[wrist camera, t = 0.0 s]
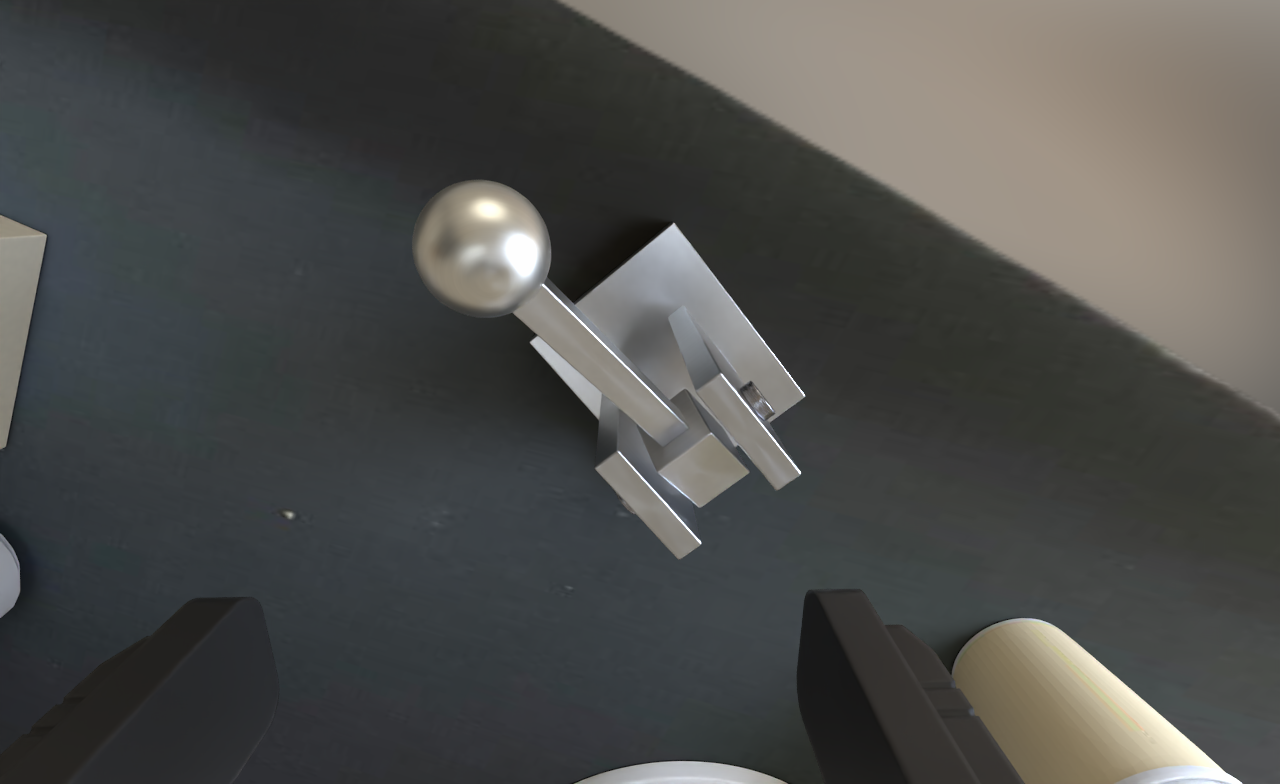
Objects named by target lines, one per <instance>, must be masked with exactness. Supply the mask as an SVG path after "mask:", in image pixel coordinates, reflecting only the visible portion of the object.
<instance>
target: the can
mask: <svg viewBox="0 0 1280 784" xmlns="http://www.w3.org/2000/svg"><path fill="white" fill-rule="evenodd" d="M19 593H20V563H19V561H18V558H17V556H16V553H15V551H14V549H13V547H12V546H11V545H10V544H9V542H8V541H7V540H6V539H5V537H4V536H3V535H2V534H0V618H1V617H2V616H3V615H4V614H6V613H7V612H8V611H9V610H10V609H11V608H13V607H14V605H15V602H16V600H17V598H18V596H19Z"/></svg>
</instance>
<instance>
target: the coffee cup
mask: <svg viewBox="0 0 1280 784" xmlns="http://www.w3.org/2000/svg"><path fill="white" fill-rule="evenodd" d="M951 676H952V678H953V679H954V680H955V685H956V688H960V689H961V691H962V692H963V694H964V695H965V697H966V698H967V699H968V701H969V702H970V704H971V705H972V707H973V708H974V714H975V716H979V717H980V718H981V720H982V721H983V723H984V724H985V726H986V727H987V729H988V730H989V732H990V733H991V734H992V736H993V737H994V739H995V740H996V742H997V743H998V745H999V746H1000V748H1001V749H1002V751H1003V752H1004V753H1005V755H1006V756H1007V758H1008V759H1009V761H1010V762H1011V764H1012V765H1013V767H1014V768H1015V769H1016V771H1017V772H1018V774H1019V775H1020V777H1021V778H1022V780H1023V781H1024V783H1025V784H1242V783H1241V782H1240V781H1239V780H1237V779H1236V778H1234V777H1232V776H1231V775H1229V774H1227V773H1226V772H1224V771H1223V770H1222V769H1221V768H1220V767H1219V766H1218V765H1217V764H1216V763H1214V762H1213V761H1212V760H1211V759H1210V758H1209V757H1208V756H1207V755H1206V754H1205V753H1203V752H1202V751H1201V750H1200V749H1199V748H1198V747H1197V746H1195V745H1194V744H1193V743H1192V742H1191V741H1190V740H1189V739H1187V738H1186V737H1185V736H1184V735H1183V734H1182V733H1180V732H1179V731H1178V730H1177V729H1176V728H1175V727H1174V726H1172V725H1171V724H1170V723H1169V722H1168V721H1167V720H1166V719H1164V718H1163V717H1162V716H1161V715H1160V714H1159V713H1157V712H1156V711H1155V710H1154V709H1153V708H1152V707H1151V706H1149V705H1148V704H1147V703H1146V702H1145V701H1144V700H1142V699H1141V698H1140V697H1139V696H1138V695H1137V694H1136V693H1134V692H1133V691H1132V690H1131V689H1130V688H1129V687H1127V686H1126V685H1125V684H1124V683H1123V682H1122V681H1120V680H1119V679H1118V678H1117V677H1116V676H1115V675H1113V674H1112V673H1111V672H1110V671H1109V670H1108V669H1106V668H1105V667H1104V666H1103V665H1102V664H1101V663H1099V662H1098V661H1097V660H1096V659H1095V658H1094V657H1092V656H1091V655H1090V654H1089V653H1088V652H1087V651H1085V650H1084V649H1083V648H1082V647H1081V646H1080V645H1078V644H1077V643H1076V642H1075V641H1073V640H1072V639H1071V638H1070V637H1069V636H1067V635H1066V634H1065V633H1064V632H1062V631H1061V630H1060V629H1058V628H1057V627H1055V626H1053V625H1052V624H1050V623H1047V622H1044V621H1041V620H1038V619H1031V618H1018V619H1010V620H1006V621H1002V622H999V623H996V624H994V625H991V626H989V627H987V628H985V629H984V630H982V631H980V632H979V633H978V634H976V635H975V636H974V637H973V638H971V639H970V640H969V641H968V642H967V643H966V644H965V645H964V647H963V648H962V649H961V651H960V652H959V654H958V656H957V658H956V659H955V662H954V665H953V668H952V675H951Z"/></svg>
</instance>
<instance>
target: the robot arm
mask: <svg viewBox="0 0 1280 784" xmlns="http://www.w3.org/2000/svg"><path fill="white" fill-rule="evenodd" d="M797 693H798V701H799V707H800V711H801V715H802V719H803V722H804V725H805V728H806V731H807V734H808V737H809V740H810V742H811V745H812V748H813V751H814V754H815V757H816V760H817V763H818V766H819V768H820V771H821V774H822V777H823V780H824V783H825V784H1025V783H1024V781H1023V780H1022V778H1021V777H1020V775H1019V774H1018V772H1017V771H1016V769H1015V768H1014V767H1013V765H1012V764H1011V762H1010V761H1009V759H1008V758H1007V756H1006V755H1005V753H1004V752H1003V751H1002V749H1001V748H1000V746H999V745H998V743H997V742H996V740H995V739H994V737H993V736H992V734H991V733H990V732H989V730H988V729H987V727H986V726H985V724H984V723H983V721H982V720H981V718H980V717H979V716H975V714H974V708H973V707H972V705H971V704H970V702H969V701H968V699H967V698H966V697H965V695H964V694H963V692H962V691H961V689H960V688H956V685H955V680H954V679H953V678H952V676H951V675H950V673H949V672H948V670H947V669H946V667H945V666H944V664H943V663H942V662H941V660H940V659H939V657H938V656H937V654H936V653H935V651H934V650H933V649H931V648H930V647H929V646H928V645H926V644H925V643H924V642H923V641H921V640H920V639H919V638H918V637H916V636H915V635H914V634H913V633H911V632H910V631H909V630H908V629H906V628H905V627H904V626H903V625H884V624H883V622H882V620H881V619H880V617H879V616H878V614H877V612H876V611H875V609H874V607H873V606H872V604H871V602H870V601H869V599H868V598H867V596H866V595H865V593H864V592H863V591H862V590H860V589H826V590H809V591H808V592H807V593H806V596H805V600H804V609H803V618H802V628H801V637H800V647H799V657H798V666H797ZM278 699H279V679H278V675H277V670H276V666H275V661H274V657H273V653H272V648H271V644H270V639H269V635H268V631H267V626H266V622H265V618H264V613H263V609H262V607H261V605H260V603H259V602H258V600H256V599H255V598H252V597H222V598H195V599H192V600H190V601H189V602H187V603H186V604H185V605H183V606H182V607H181V608H180V609H179V610H178V611H177V612H176V613H175V614H174V615H173V616H172V617H171V618H169V619H168V620H167V621H166V622H165V623H164V624H163V625H162V626H161V627H160V628H159V629H158V630H157V631H156V632H155V633H154V634H152V635H151V636H146V637H145V638H143V639H141V640H140V641H138V642H136V643H135V644H133V645H132V646H130V647H128V648H127V649H125V650H123V651H122V652H120V653H118V654H117V655H115V656H113V657H112V658H110V659H109V660H107V661H105V662H104V663H102V664H100V665H99V666H98V667H97V668H96V669H95V670H94V671H93V672H92V673H90V674H89V675H88V676H87V677H86V678H85V679H84V680H83V681H82V682H81V683H79V684H78V685H77V686H76V687H75V688H74V689H73V690H72V691H71V692H69V693H68V694H67V695H66V696H65V697H64V701H63V703H62V704H61V705H55V706H54V707H53V708H52V709H51V710H50V711H48V712H47V713H46V714H45V715H44V716H43V717H42V718H41V719H40V720H39V721H37V722H36V723H35V724H34V725H33V726H32V730H31V732H30V733H29V734H23V735H22V736H21V737H20V738H19V739H18V740H16V741H15V742H14V743H13V744H12V745H11V746H10V747H9V748H8V749H6V750H5V751H4V752H3V753H2V754H1V755H0V784H233V782H234V780H235V779H236V777H237V776H238V774H239V773H240V771H241V770H242V768H243V767H244V765H245V764H246V762H247V761H248V759H249V758H250V756H251V755H252V753H253V752H254V750H255V749H256V747H257V746H258V744H259V743H260V741H261V739H262V738H263V736H264V735H265V733H266V732H267V730H268V728H269V727H270V725H271V723H272V720H273V718H274V715H275V712H276V709H277V704H278Z"/></svg>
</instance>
